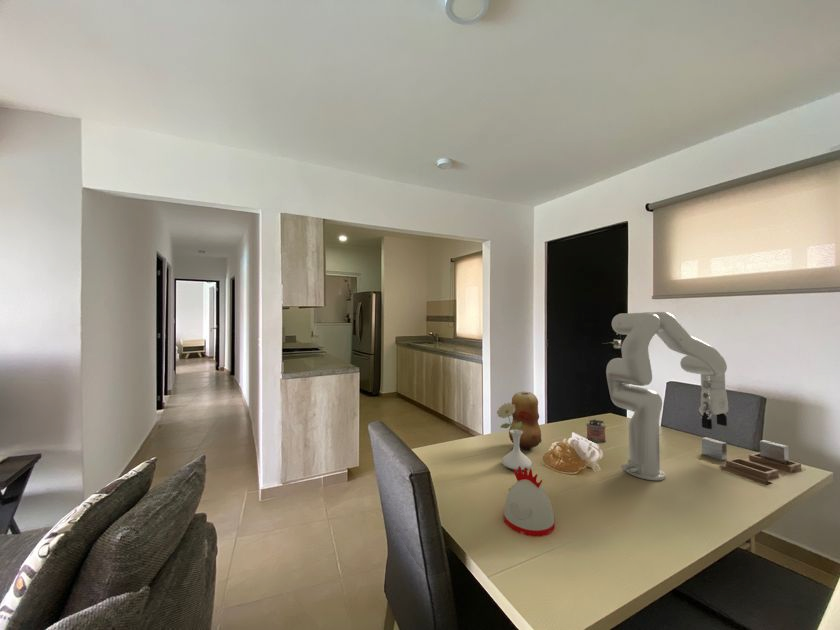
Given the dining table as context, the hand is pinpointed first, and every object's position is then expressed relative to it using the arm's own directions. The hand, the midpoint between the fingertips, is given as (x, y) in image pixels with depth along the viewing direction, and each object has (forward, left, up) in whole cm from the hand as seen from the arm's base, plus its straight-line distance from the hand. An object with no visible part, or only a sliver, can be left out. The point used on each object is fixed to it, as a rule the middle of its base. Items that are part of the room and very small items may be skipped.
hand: (714, 426), depth 136 cm
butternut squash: (-65, +38, -14) cm, 76 cm away
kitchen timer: (-99, -7, -14) cm, 100 cm away
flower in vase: (-81, +24, -14) cm, 85 cm away
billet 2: (+12, -13, -12) cm, 21 cm away
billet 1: (-1, 0, -14) cm, 14 cm away
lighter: (-27, +34, -14) cm, 45 cm away
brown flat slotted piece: (+4, -13, -14) cm, 19 cm away
